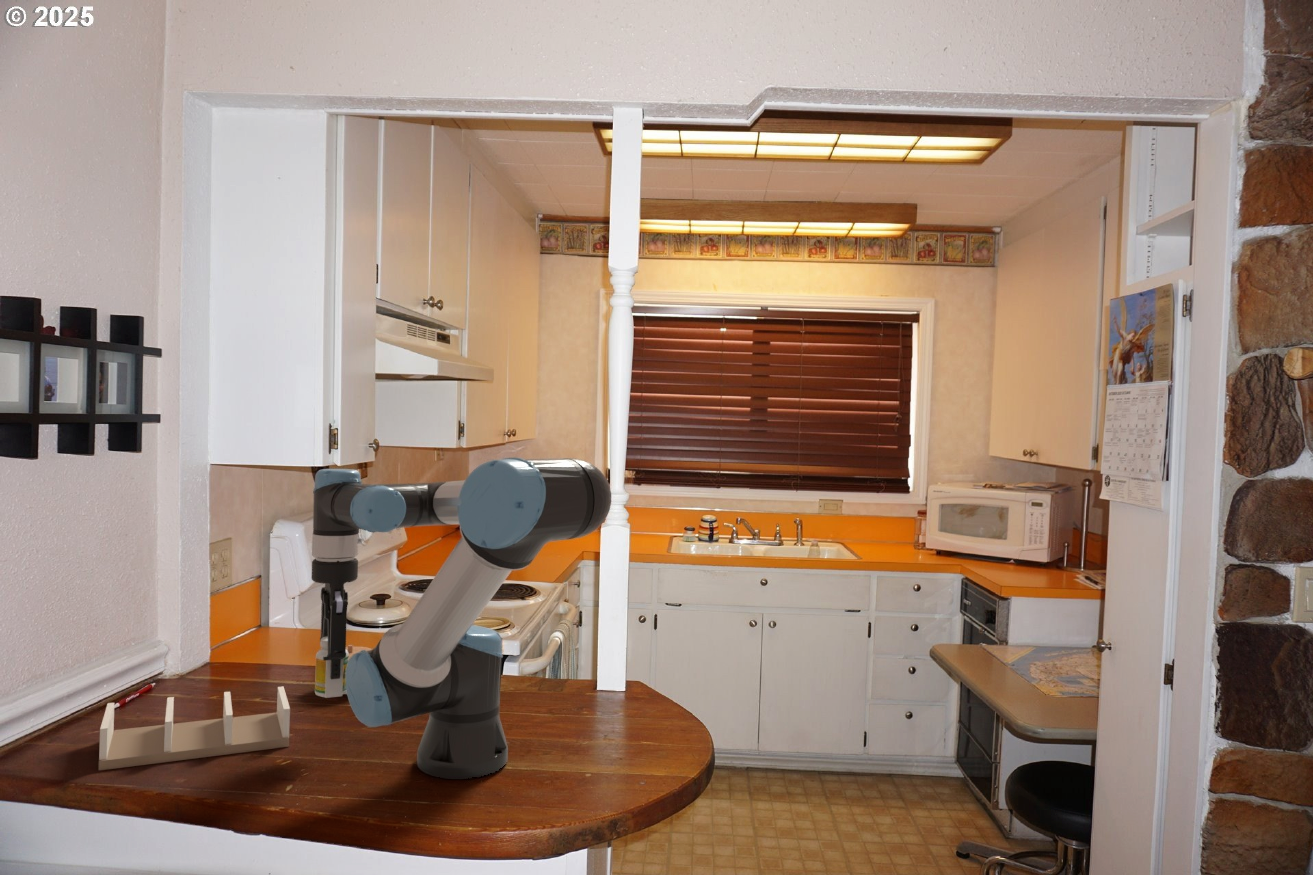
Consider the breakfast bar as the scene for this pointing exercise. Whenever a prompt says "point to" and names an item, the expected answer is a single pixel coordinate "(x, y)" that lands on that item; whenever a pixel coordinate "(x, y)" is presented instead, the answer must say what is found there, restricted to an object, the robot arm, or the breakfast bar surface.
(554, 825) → the breakfast bar surface
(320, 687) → the supplement bottle
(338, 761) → the breakfast bar surface
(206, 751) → the rack
